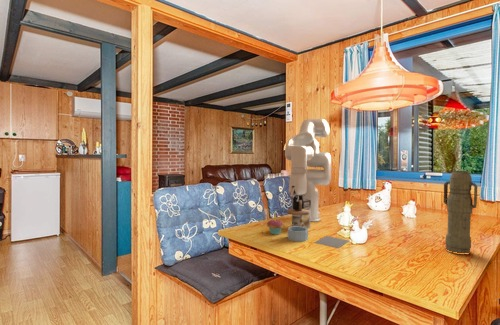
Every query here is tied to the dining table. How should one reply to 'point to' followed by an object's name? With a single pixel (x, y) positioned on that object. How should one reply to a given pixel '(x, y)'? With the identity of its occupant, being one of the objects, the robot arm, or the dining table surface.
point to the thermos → (459, 211)
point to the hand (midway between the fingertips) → (298, 208)
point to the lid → (298, 212)
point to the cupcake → (275, 226)
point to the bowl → (297, 233)
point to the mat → (332, 241)
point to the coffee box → (302, 216)
